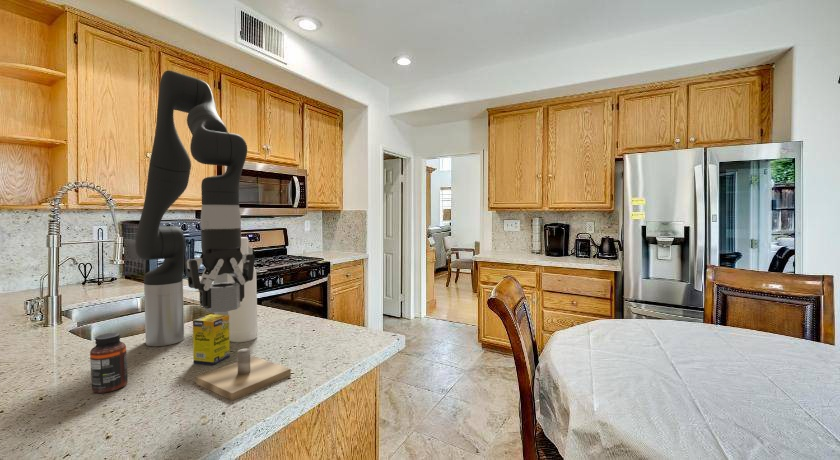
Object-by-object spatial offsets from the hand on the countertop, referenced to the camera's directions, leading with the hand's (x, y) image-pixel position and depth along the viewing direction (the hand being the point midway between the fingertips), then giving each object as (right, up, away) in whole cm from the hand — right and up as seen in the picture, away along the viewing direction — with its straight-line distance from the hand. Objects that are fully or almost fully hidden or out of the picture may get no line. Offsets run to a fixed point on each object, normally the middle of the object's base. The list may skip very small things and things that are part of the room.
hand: (223, 304), depth 81 cm
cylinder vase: (-24, -15, +53) cm, 60 cm away
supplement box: (-10, -17, +14) cm, 25 cm away
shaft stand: (+3, -18, +4) cm, 18 cm away
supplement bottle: (-24, -18, -1) cm, 30 cm away
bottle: (-10, -16, +31) cm, 37 cm away
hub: (0, -1, 0) cm, 1 cm away
